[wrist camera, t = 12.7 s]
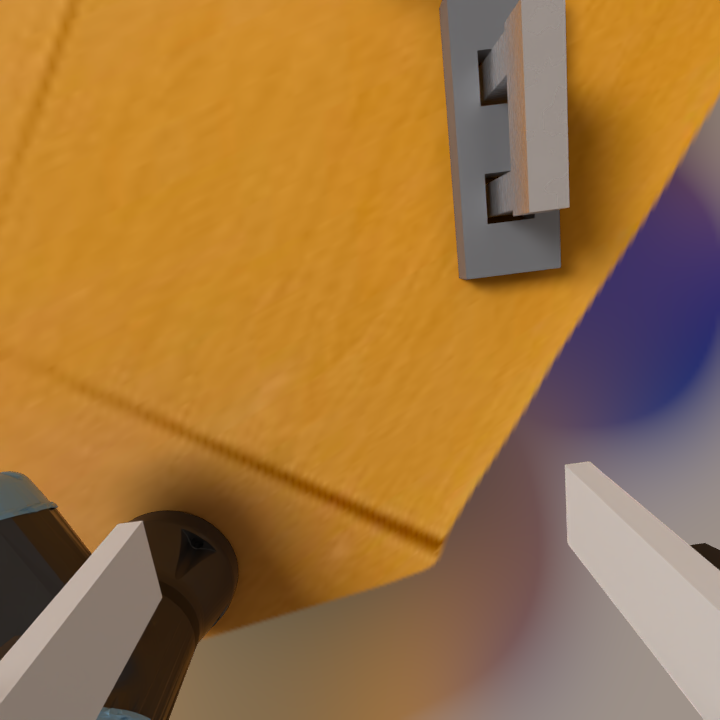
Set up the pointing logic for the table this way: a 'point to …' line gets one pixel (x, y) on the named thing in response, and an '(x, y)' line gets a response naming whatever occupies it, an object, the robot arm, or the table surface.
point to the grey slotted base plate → (485, 151)
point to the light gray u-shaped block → (530, 109)
